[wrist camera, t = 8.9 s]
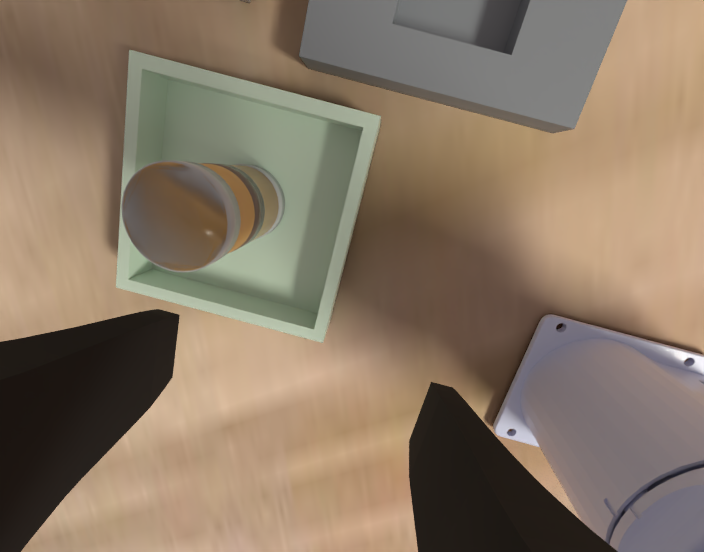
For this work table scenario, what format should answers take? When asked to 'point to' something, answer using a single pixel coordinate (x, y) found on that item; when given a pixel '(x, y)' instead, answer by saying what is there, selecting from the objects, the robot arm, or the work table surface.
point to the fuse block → (469, 52)
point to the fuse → (198, 211)
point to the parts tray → (270, 154)
